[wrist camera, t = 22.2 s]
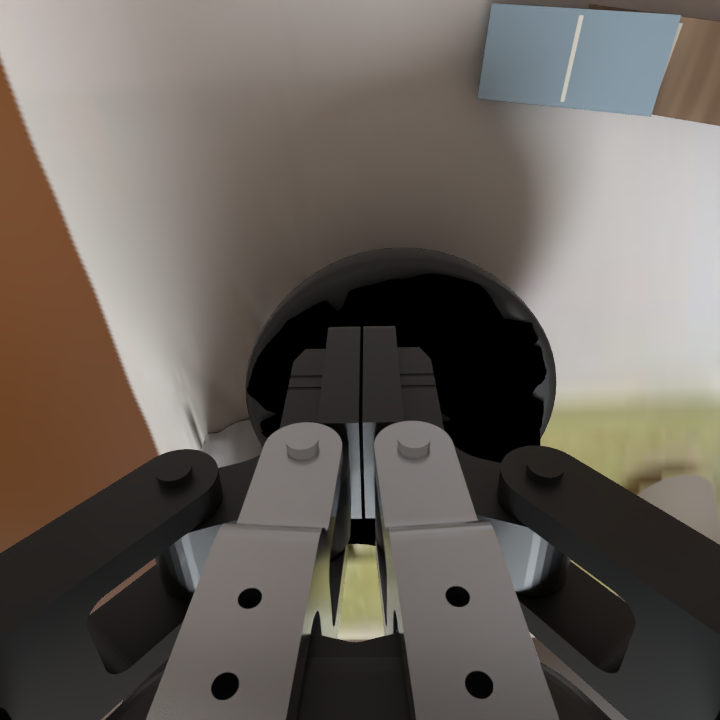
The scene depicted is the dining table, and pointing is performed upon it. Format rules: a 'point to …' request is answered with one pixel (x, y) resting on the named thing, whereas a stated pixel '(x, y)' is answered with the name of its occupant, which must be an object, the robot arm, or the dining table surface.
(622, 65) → the tile
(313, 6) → the dining table surface
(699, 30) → the tile
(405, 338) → the bowl of black rocks
